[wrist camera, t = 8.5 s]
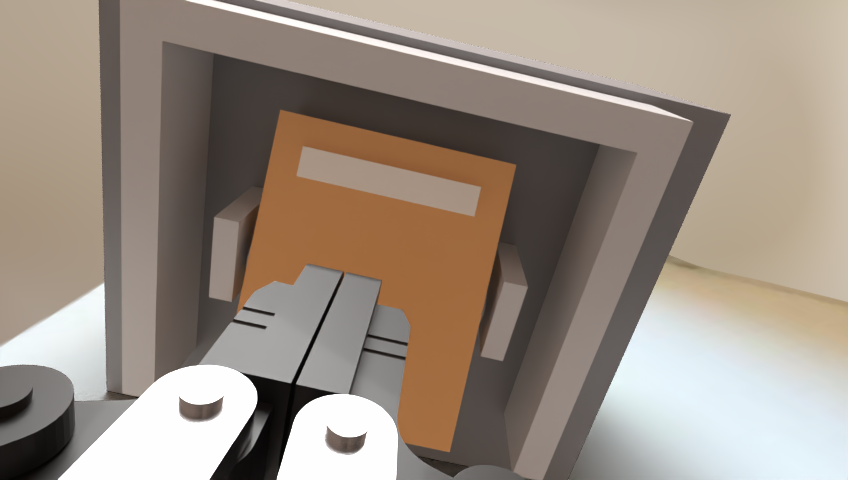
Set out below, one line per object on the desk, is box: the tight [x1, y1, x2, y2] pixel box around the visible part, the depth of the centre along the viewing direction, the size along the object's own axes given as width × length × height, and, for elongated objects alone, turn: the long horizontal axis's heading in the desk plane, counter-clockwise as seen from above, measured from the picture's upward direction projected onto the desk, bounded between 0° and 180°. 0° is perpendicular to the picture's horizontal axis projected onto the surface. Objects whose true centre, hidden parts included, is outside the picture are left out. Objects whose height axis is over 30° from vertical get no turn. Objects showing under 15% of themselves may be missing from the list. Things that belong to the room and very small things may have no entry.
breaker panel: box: [99, 0, 731, 480], centre depth 24 cm, size 22×14×18 cm, turn 87°
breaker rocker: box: [236, 110, 516, 452], centre depth 18 cm, size 8×2×10 cm, turn 87°
